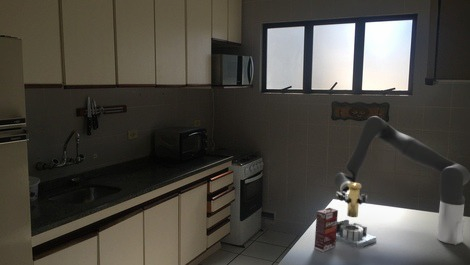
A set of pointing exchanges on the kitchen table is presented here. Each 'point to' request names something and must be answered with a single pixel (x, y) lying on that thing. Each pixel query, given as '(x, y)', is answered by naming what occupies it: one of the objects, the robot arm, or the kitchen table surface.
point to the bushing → (353, 199)
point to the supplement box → (326, 229)
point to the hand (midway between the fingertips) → (354, 201)
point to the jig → (353, 234)
